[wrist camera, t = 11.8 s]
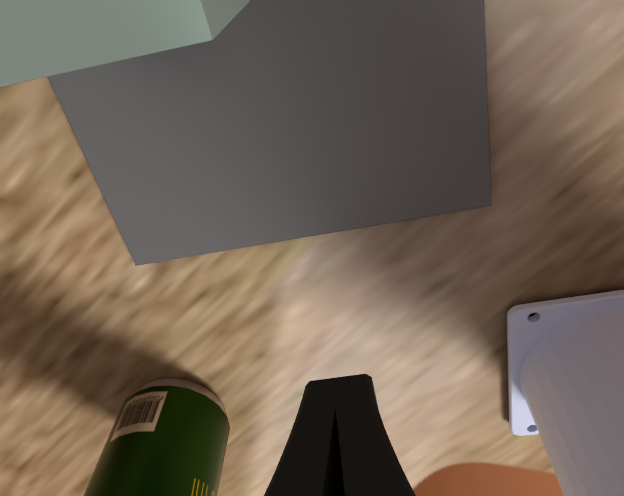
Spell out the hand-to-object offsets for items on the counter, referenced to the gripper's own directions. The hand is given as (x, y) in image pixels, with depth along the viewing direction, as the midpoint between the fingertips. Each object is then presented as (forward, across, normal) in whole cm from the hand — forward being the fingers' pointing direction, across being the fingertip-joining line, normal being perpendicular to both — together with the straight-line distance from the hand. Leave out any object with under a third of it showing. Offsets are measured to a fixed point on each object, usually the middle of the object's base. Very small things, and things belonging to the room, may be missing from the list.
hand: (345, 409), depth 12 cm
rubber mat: (+10, +2, -6) cm, 12 cm away
